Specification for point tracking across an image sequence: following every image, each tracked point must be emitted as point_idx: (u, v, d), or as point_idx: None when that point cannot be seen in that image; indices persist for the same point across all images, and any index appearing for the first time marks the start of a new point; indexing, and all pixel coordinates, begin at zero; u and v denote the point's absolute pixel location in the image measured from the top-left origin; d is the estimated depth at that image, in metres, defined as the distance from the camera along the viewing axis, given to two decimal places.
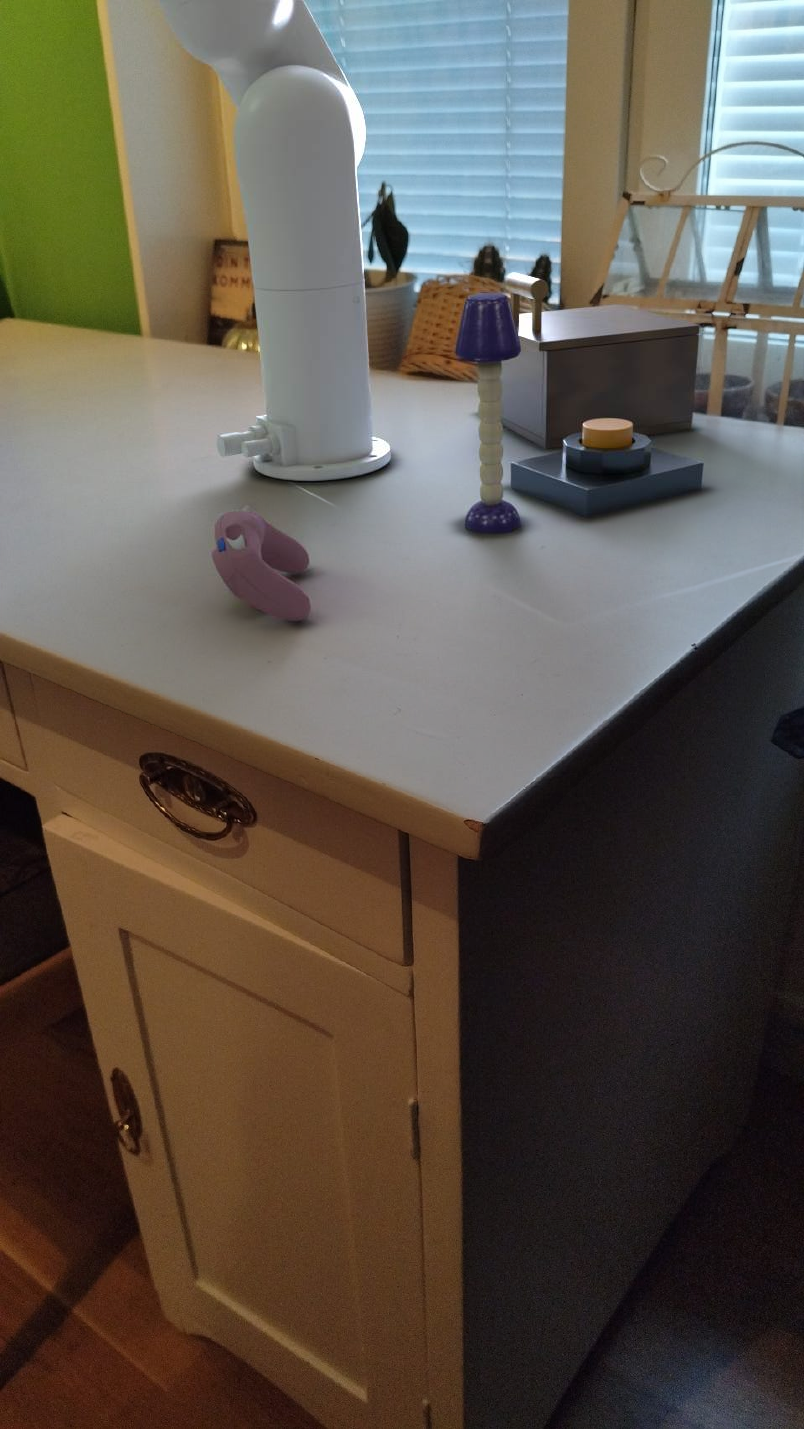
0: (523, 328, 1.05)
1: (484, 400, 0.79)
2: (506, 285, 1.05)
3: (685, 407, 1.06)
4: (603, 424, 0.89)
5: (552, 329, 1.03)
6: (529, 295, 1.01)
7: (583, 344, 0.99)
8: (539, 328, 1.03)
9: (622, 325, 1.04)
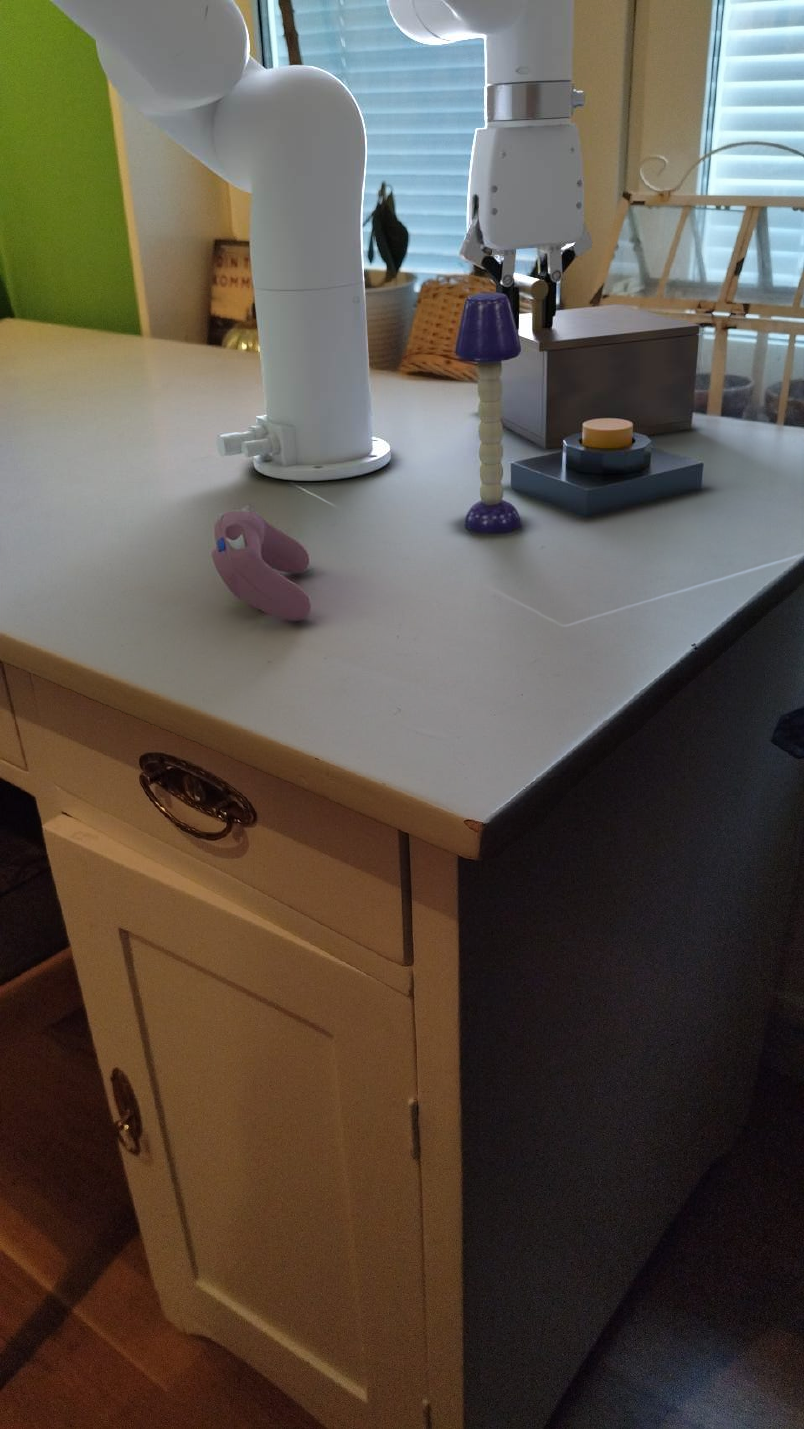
0: (523, 328, 1.05)
1: (484, 400, 0.79)
2: None
3: (685, 407, 1.06)
4: (603, 424, 0.89)
5: (552, 329, 1.04)
6: (529, 295, 1.01)
7: (583, 345, 0.99)
8: (539, 328, 1.03)
9: (622, 325, 1.04)
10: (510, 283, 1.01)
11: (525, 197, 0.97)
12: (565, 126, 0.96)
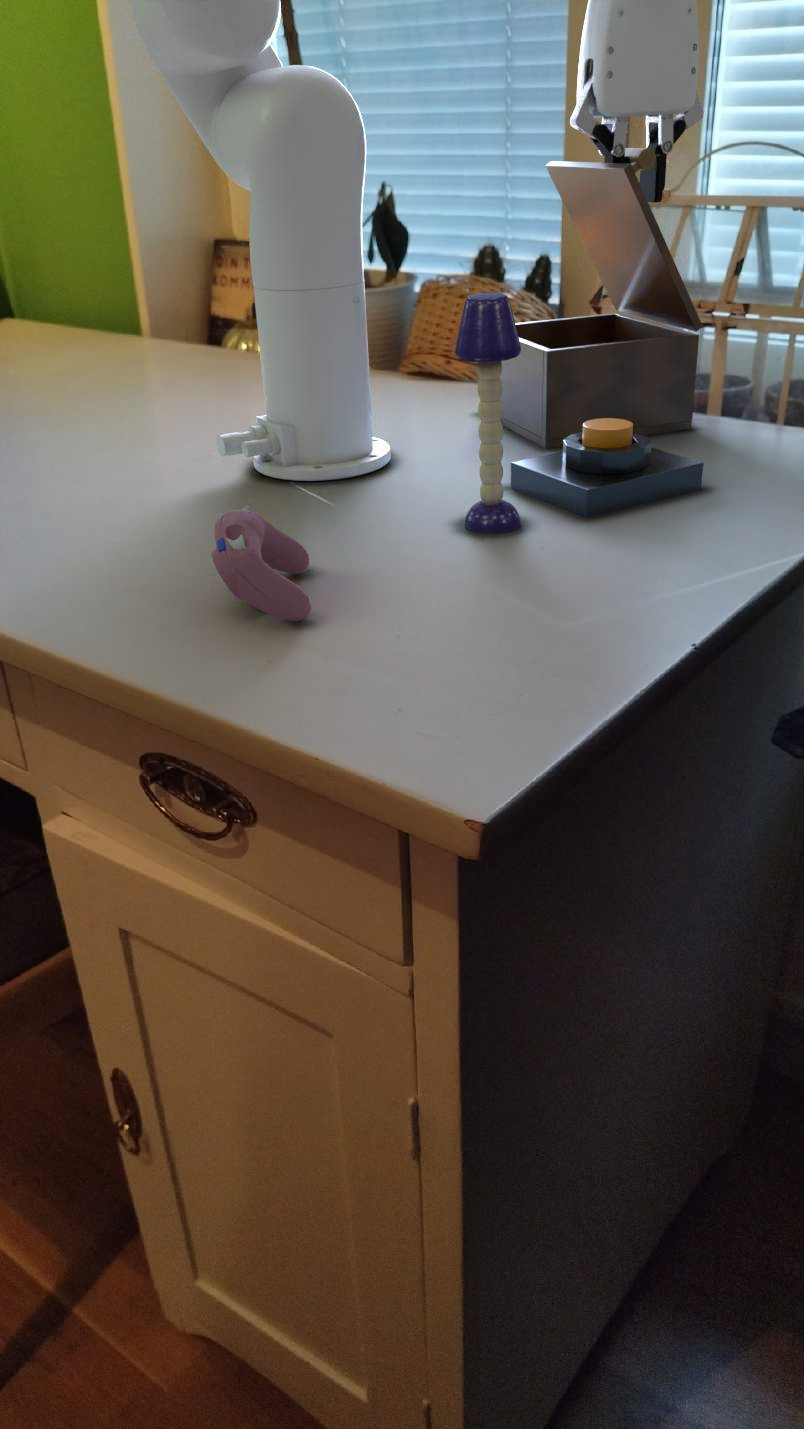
0: None
1: (484, 400, 0.79)
2: None
3: (685, 407, 1.06)
4: (603, 424, 0.89)
5: None
6: (636, 155, 0.99)
7: (646, 215, 0.96)
8: None
9: None
10: (621, 153, 0.99)
11: (640, 60, 0.95)
12: None
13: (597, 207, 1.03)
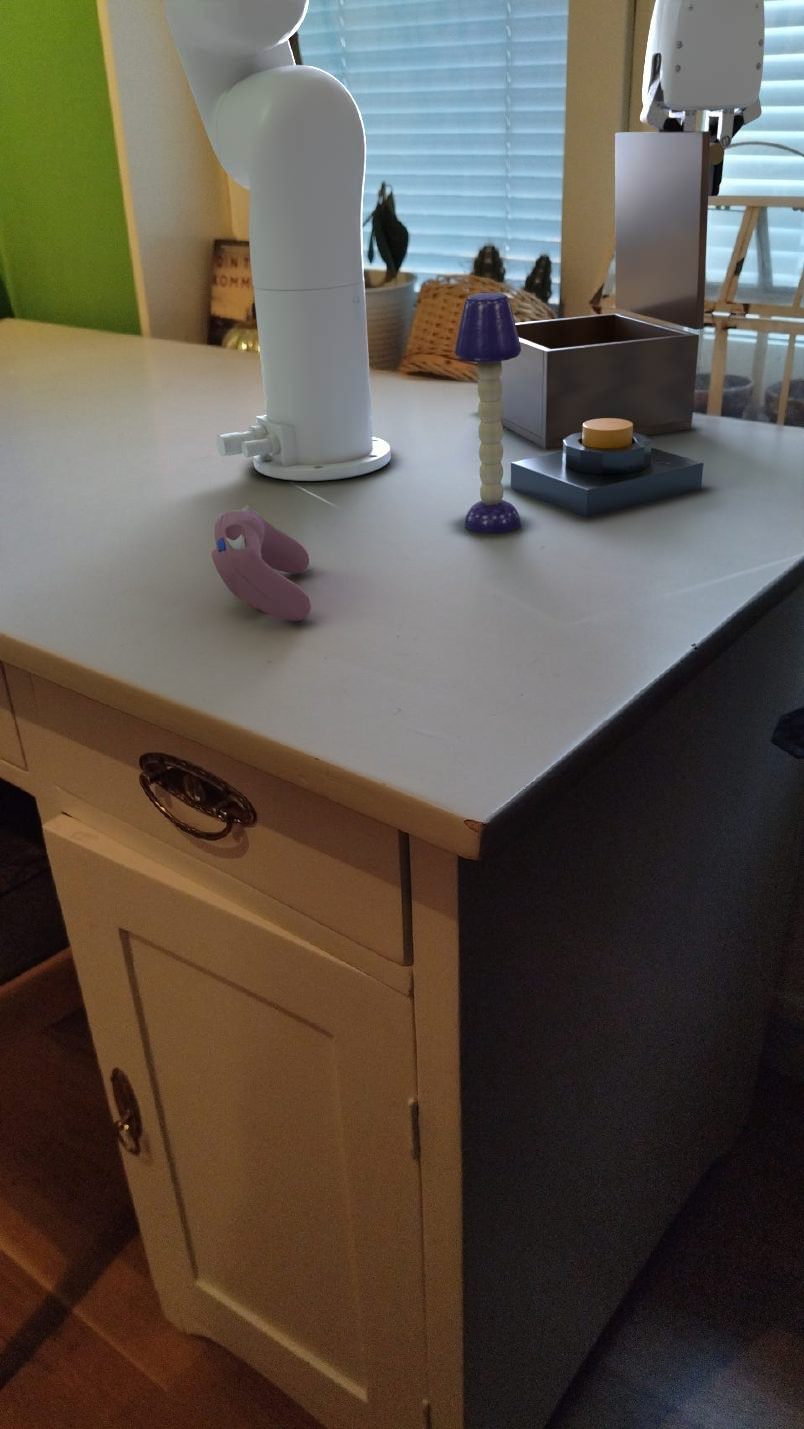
0: None
1: (484, 400, 0.79)
2: None
3: (685, 407, 1.06)
4: (603, 424, 0.89)
5: None
6: None
7: (702, 188, 0.97)
8: None
9: None
10: None
11: (708, 55, 0.97)
12: None
13: (651, 181, 1.03)
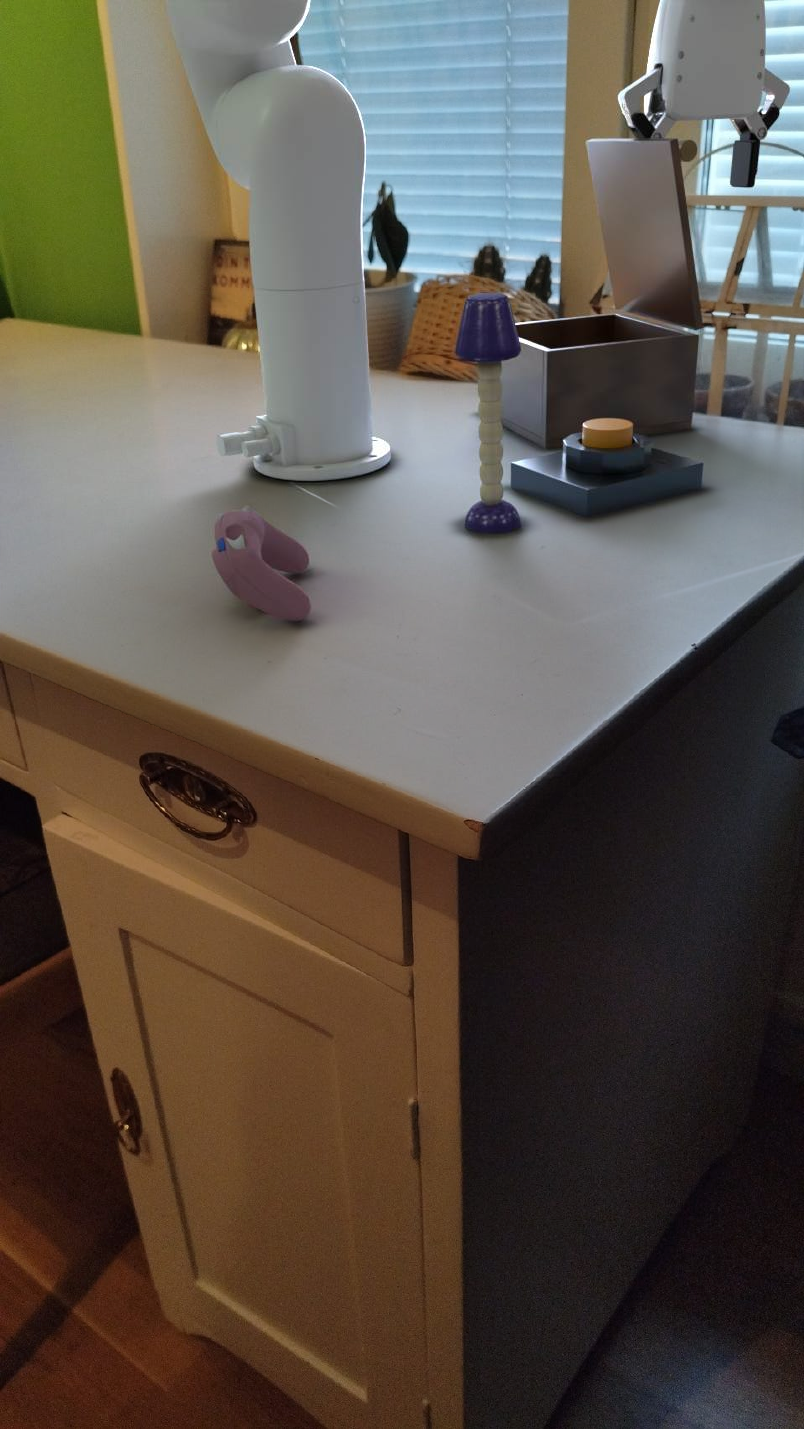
0: None
1: (484, 400, 0.79)
2: None
3: (685, 407, 1.06)
4: (603, 424, 0.89)
5: None
6: (679, 143, 1.00)
7: (679, 195, 0.96)
8: None
9: None
10: None
11: (709, 65, 0.98)
12: None
13: (628, 188, 1.03)
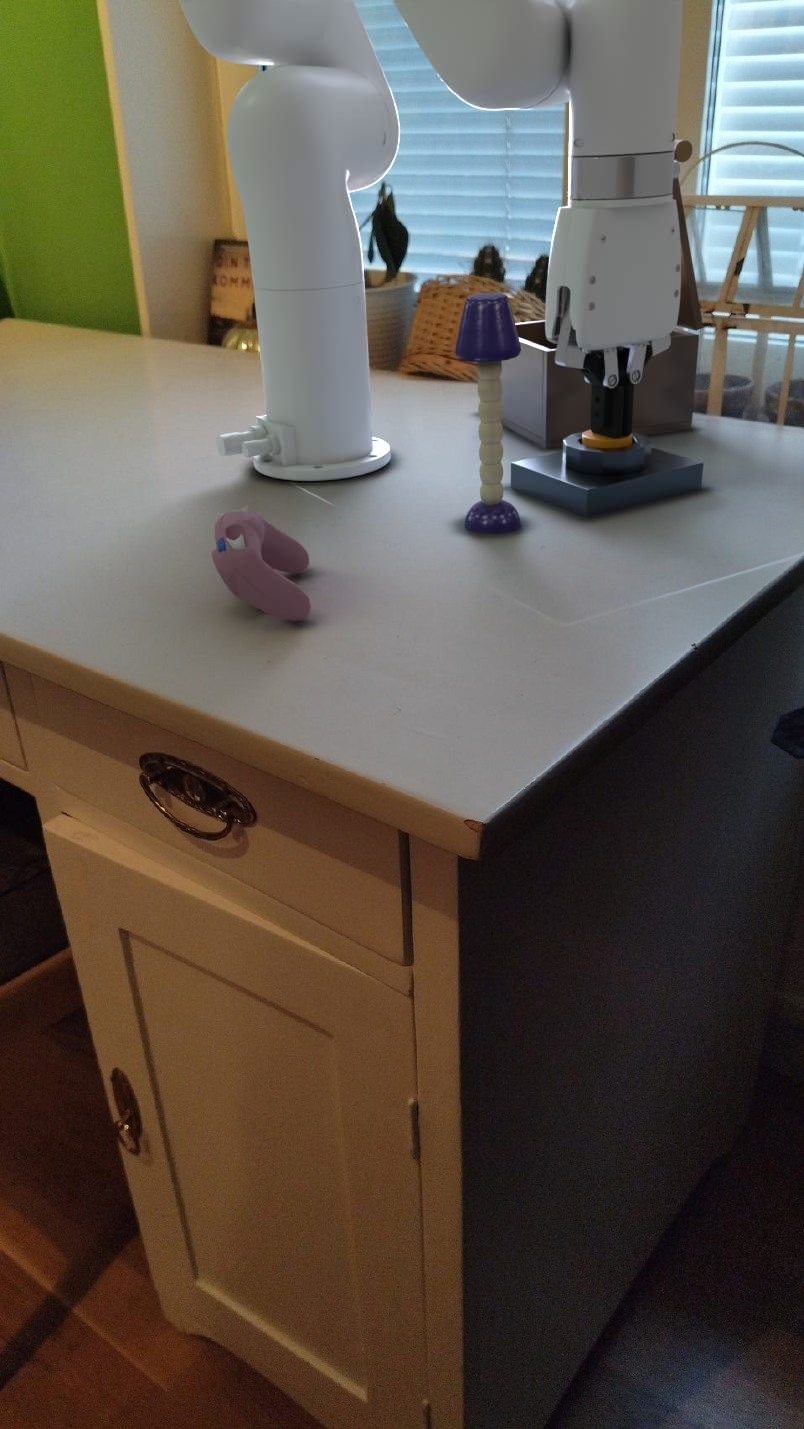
0: None
1: (484, 400, 0.79)
2: None
3: (685, 407, 1.06)
4: None
5: None
6: None
7: (675, 197, 0.96)
8: None
9: None
10: (614, 384, 0.86)
11: (623, 287, 0.81)
12: (667, 203, 0.80)
13: None
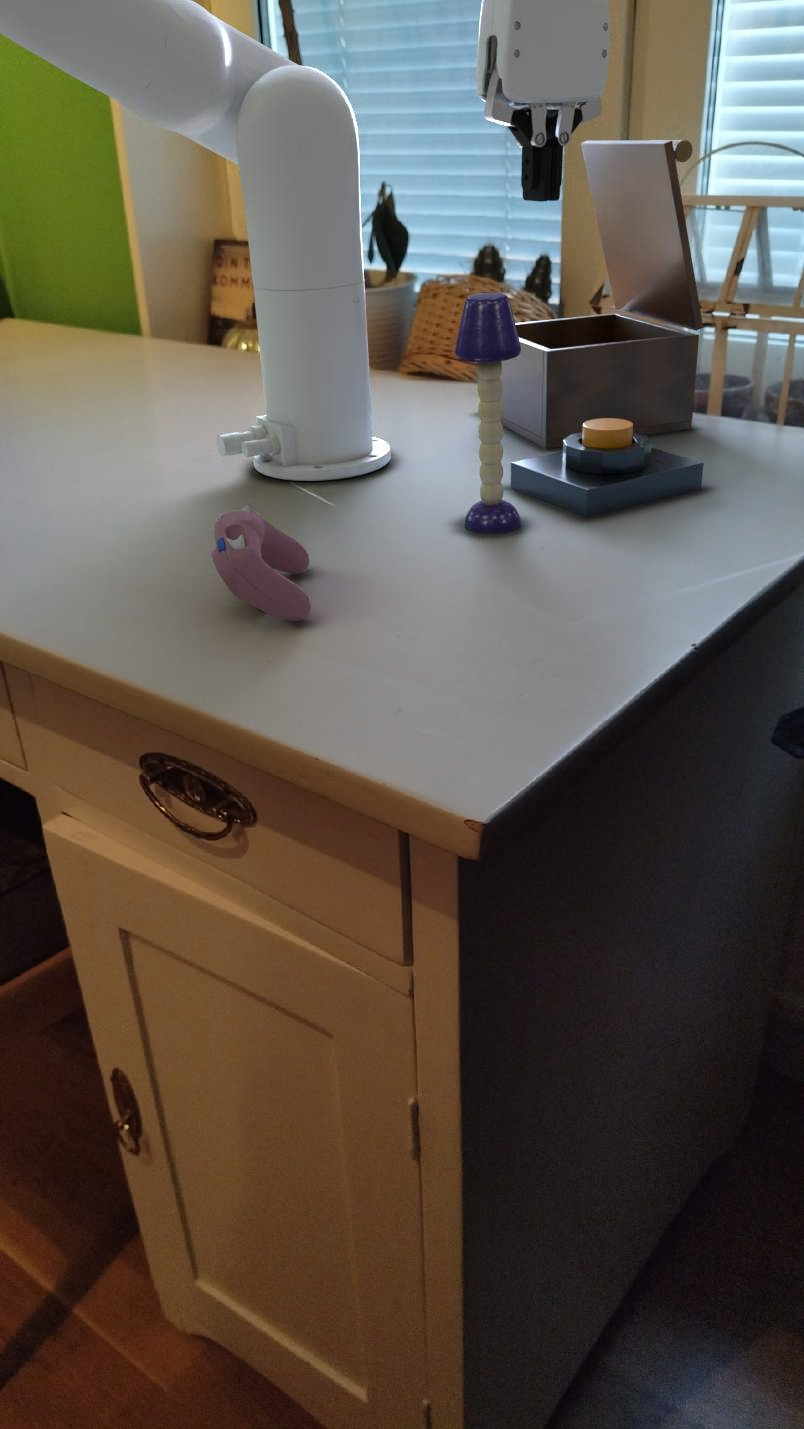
0: None
1: (484, 400, 0.79)
2: (649, 141, 1.04)
3: (685, 407, 1.06)
4: (603, 424, 0.89)
5: None
6: (674, 144, 0.99)
7: (675, 197, 0.96)
8: None
9: None
10: (542, 143, 0.89)
11: (549, 38, 0.85)
12: None
13: (624, 189, 1.03)
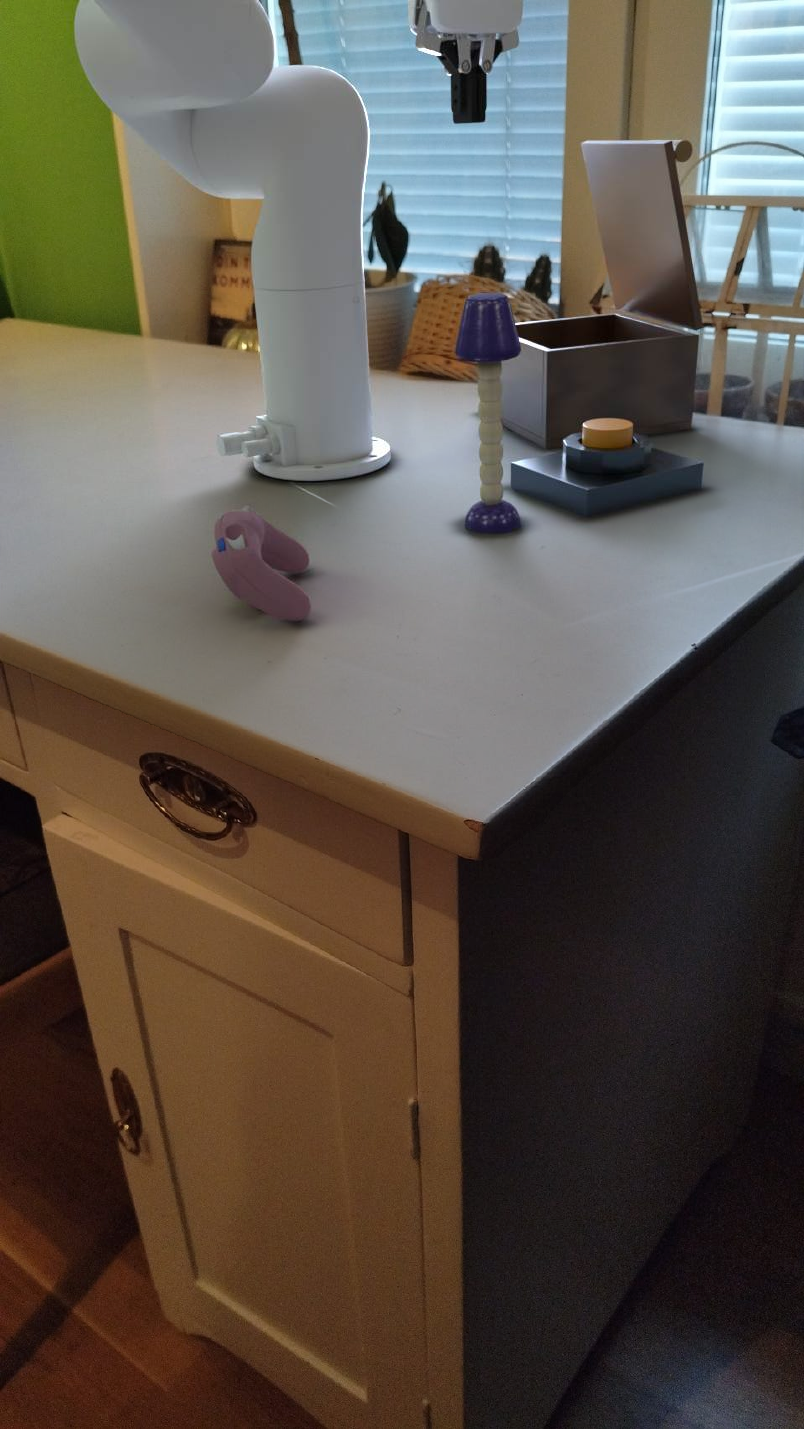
0: None
1: (484, 400, 0.79)
2: (649, 141, 1.04)
3: (685, 407, 1.06)
4: (603, 424, 0.89)
5: None
6: (674, 144, 0.99)
7: (675, 197, 0.96)
8: None
9: None
10: (468, 70, 1.01)
11: None
12: None
13: (624, 189, 1.03)
